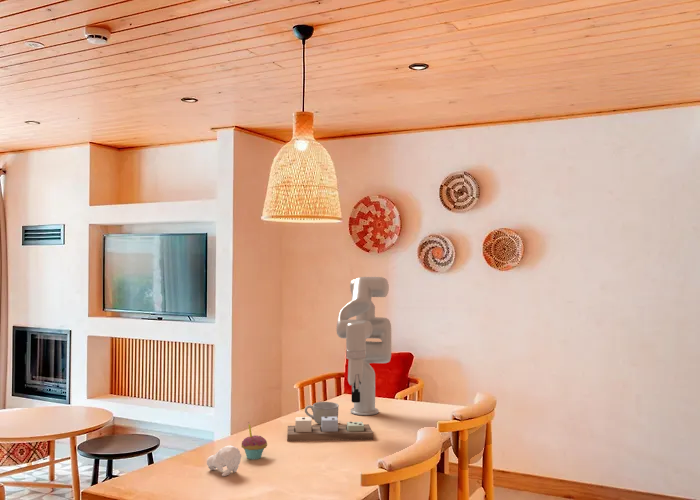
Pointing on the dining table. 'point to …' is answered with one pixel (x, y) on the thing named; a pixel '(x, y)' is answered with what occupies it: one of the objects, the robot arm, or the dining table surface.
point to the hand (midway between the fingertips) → (355, 401)
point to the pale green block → (355, 426)
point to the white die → (329, 424)
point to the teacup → (322, 410)
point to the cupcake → (254, 445)
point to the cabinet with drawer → (329, 434)
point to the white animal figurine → (225, 460)
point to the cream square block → (303, 424)
